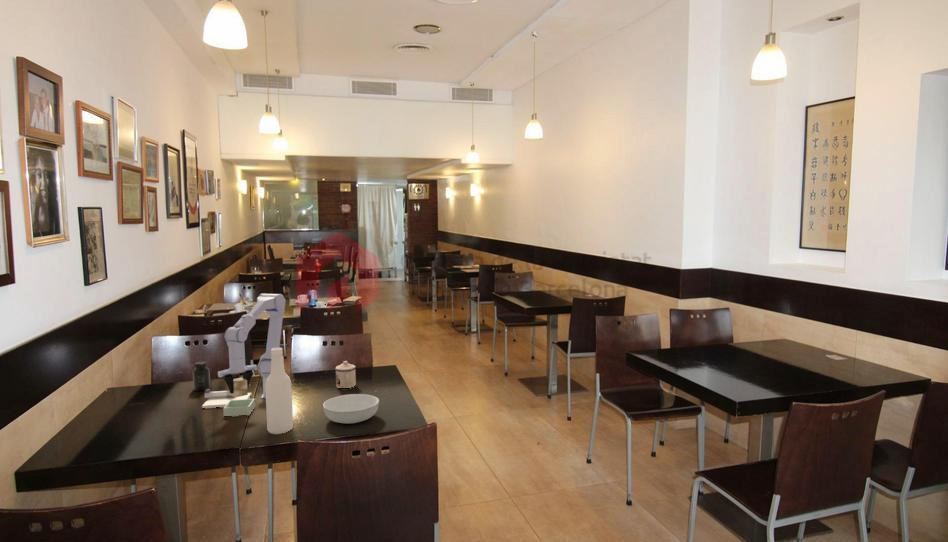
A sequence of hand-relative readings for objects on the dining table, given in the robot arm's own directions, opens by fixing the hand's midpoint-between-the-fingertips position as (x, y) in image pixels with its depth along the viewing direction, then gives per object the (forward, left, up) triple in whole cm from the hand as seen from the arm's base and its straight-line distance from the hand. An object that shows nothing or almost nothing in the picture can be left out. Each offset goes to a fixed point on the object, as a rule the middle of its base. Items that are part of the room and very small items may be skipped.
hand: (238, 391), depth 218 cm
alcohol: (-19, +23, -9) cm, 31 cm away
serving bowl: (-44, +17, -9) cm, 48 cm away
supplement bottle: (+24, -35, -9) cm, 43 cm away
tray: (0, 0, -8) cm, 8 cm away
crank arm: (+11, -17, -7) cm, 22 cm away
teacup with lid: (-40, -24, -9) cm, 47 cm away
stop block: (0, 0, -1) cm, 1 cm away
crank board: (+8, -14, -8) cm, 18 cm away
